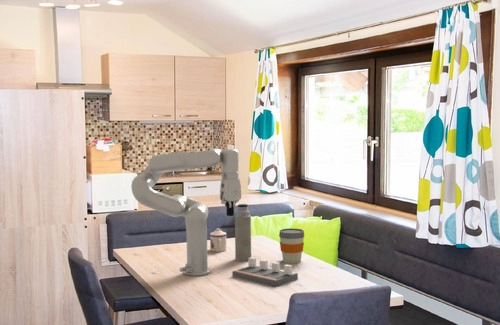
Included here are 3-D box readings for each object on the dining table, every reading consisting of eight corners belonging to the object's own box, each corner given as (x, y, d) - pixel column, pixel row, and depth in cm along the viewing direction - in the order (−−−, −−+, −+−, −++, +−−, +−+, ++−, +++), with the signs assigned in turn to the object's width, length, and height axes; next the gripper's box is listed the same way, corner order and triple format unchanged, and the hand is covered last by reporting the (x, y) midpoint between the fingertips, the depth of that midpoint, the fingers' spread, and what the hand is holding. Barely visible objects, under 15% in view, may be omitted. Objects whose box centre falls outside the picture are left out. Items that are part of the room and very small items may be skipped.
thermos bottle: (236, 257, 323) (235, 203, 321) (251, 257, 323) (251, 203, 320) (234, 261, 315) (233, 205, 313) (250, 261, 315) (249, 205, 312)
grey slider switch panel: (275, 286, 271) (275, 271, 270) (232, 276, 287) (232, 262, 287) (297, 278, 283) (297, 264, 282) (255, 269, 299) (255, 255, 299)
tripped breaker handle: (277, 272, 283) (276, 263, 283) (271, 271, 285) (271, 262, 285) (279, 271, 285) (279, 262, 285) (274, 270, 287) (274, 261, 287)
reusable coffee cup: (289, 256, 325) (288, 227, 324) (309, 259, 317) (309, 230, 316) (274, 261, 316) (274, 231, 314) (294, 264, 308) (294, 234, 306)
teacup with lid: (209, 248, 344) (208, 227, 343) (225, 247, 345) (225, 226, 344) (211, 253, 332) (211, 231, 331) (228, 252, 333) (228, 231, 332)
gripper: (224, 178, 282) (224, 218, 284) (247, 175, 293) (247, 214, 295) (212, 176, 287) (212, 216, 289) (235, 174, 298) (235, 212, 300)
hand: (230, 215), depth 292 cm, fingers closed
